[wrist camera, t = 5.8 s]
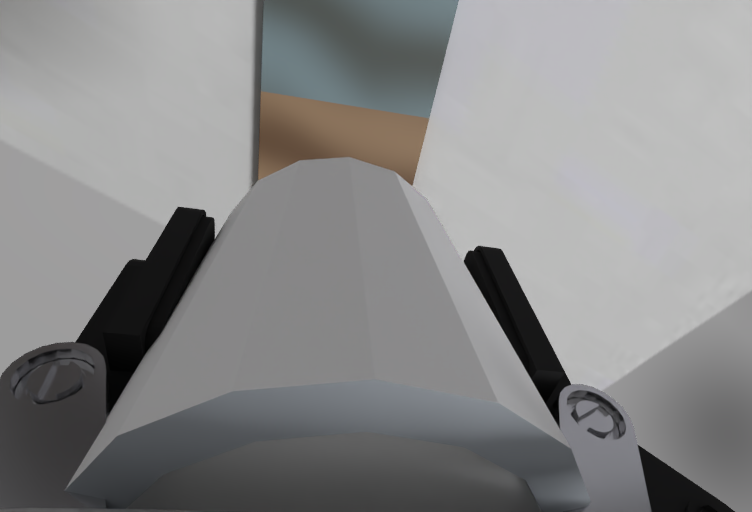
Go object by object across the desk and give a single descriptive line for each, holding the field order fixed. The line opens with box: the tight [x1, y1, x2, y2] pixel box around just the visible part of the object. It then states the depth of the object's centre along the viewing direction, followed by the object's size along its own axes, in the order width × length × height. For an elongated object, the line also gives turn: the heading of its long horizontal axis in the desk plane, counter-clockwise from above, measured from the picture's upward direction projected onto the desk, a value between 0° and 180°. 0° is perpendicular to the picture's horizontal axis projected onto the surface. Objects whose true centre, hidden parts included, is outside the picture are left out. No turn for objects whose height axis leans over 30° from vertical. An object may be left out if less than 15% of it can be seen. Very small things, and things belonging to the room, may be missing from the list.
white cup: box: [65, 157, 591, 512], centre depth 9 cm, size 7×7×7 cm
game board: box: [258, 0, 459, 186], centre depth 22 cm, size 22×9×1 cm, turn 170°
